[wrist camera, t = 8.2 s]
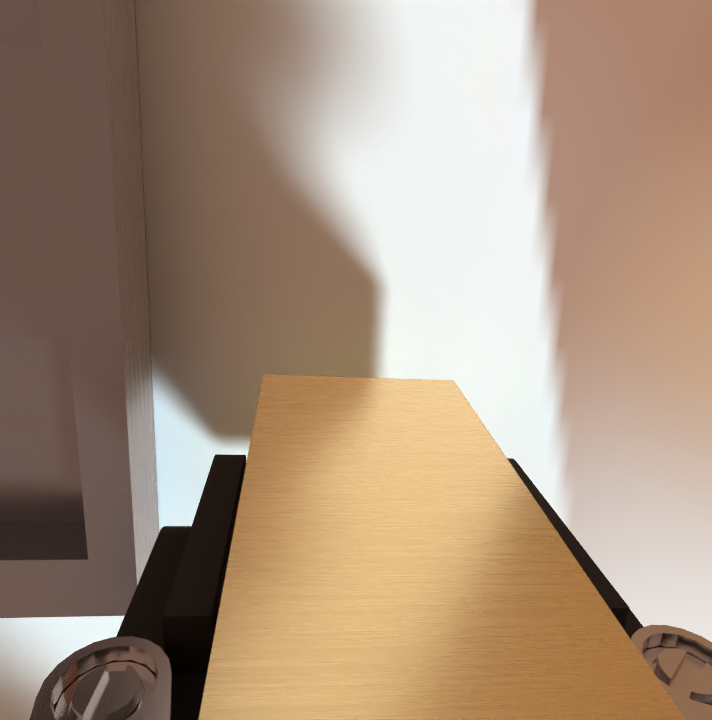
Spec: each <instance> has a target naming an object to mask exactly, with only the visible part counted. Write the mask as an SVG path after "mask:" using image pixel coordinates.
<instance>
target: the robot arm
mask: <svg viewBox="0 0 712 720" xmlns="http://www.w3.org/2000/svg"><path fill="white" fill-rule="evenodd" d="M507 459H508V458H507ZM508 461H509V462H510V464H511V465H512V467H513V468H514V469H515V471H516V472H517V474H518V475H519V477H520V478H521V480H522V481H523V483H524V484H525V486H526V487H527V489H528V490H529V491H530V493H531V494H532V496H533V497H534V499H535V500H536V502H537V503H538V505H539V506H540V508H541V509H542V510H543V512H544V513H545V515H546V516H547V518H548V519H549V521H550V522H551V524H552V525H553V527H554V528H555V529H556V531H557V532H558V534H559V535H560V537H561V538H562V540H563V541H564V543H565V544H566V546H567V547H568V548H569V550H570V551H571V553H572V554H573V556H574V557H575V559H576V560H577V562H578V563H579V565H580V566H581V567H582V569H583V570H584V572H585V573H586V575H587V576H588V578H589V579H590V581H591V582H592V584H593V585H594V586H595V588H596V589H597V591H598V592H599V594H600V595H601V597H602V598H603V600H604V601H605V603H606V604H607V606H608V607H609V608H610V610H611V611H612V613H613V614H614V616H615V617H616V619H617V620H618V622H619V623H620V625H621V626H622V627H623V629H624V630H625V632H626V633H627V635H628V636H629V638H630V639H631V641H632V642H633V644H634V645H635V646H636V648H637V649H638V651H639V652H640V654H641V655H642V657H643V658H644V660H645V661H646V663H647V664H648V665H649V667H650V668H651V670H652V671H653V673H654V674H655V676H656V677H657V679H658V680H659V682H660V683H661V684H662V686H663V687H664V689H665V690H666V692H667V693H668V695H669V696H670V698H671V699H672V701H673V702H674V703H675V705H676V706H677V708H678V709H679V711H680V712H681V714H682V715H683V717H684V718H685V720H712V642H710V641H708V640H707V639H705V638H703V637H702V636H699V635H697V634H694V633H692V632H689V631H687V630H684V629H681V628H676V627H672V626H667V625H649V626H646V627H643V626H642V624H640V622H639V621H638V619H637V618H636V617H635V615H634V614H633V613H632V612H631V610H630V609H629V607H628V605H627V604H626V603H625V602H624V600H623V599H622V598H621V596H620V595H619V594H618V592H617V591H616V590H615V589H614V587H613V586H612V585H611V583H610V582H609V581H608V580H607V578H606V577H605V576H604V574H603V573H602V572H601V571H600V569H599V568H598V567H597V565H596V564H595V563H594V562H593V560H592V559H591V558H590V557H589V555H588V554H587V552H586V551H585V550H584V549H583V547H582V546H581V545H580V543H579V542H578V541H577V540H576V538H575V537H574V536H573V534H572V533H571V532H570V530H569V529H568V528H567V527H566V525H565V524H564V523H563V521H562V520H561V519H560V518H559V516H558V515H557V514H556V512H555V511H554V510H553V508H552V507H551V506H550V505H549V503H548V502H547V501H546V499H545V498H544V497H543V496H542V494H541V493H540V492H539V490H538V489H537V488H536V487H535V485H534V484H533V483H532V481H531V480H530V479H529V477H528V476H527V475H526V474H525V472H524V471H523V470H522V468H521V467H520V466H519V465H518V463H517V462H516V461H515V460H514V459H508ZM245 468H246V455H215V456H214V459H213V462H212V465H211V468H210V472H209V475H208V478H207V481H206V484H205V487H204V490H203V493H202V496H201V499H200V502H199V506H198V509H197V512H196V515H195V518H194V521H193V524H192V526H164V527H163V528H162V529H161V530H160V532H159V534H158V537H157V539H156V542H155V544H154V546H153V549H152V551H151V554H150V556H149V559H148V561H147V563H146V566H145V568H144V571H143V573H142V576H141V578H140V580H139V583H138V585H137V588H136V590H135V593H134V595H133V597H132V600H131V602H130V605H129V607H128V610H127V612H126V615H125V617H124V619H123V622H122V624H121V627H120V629H119V632H118V634H117V636H116V637H113V638H109V639H105V640H101V641H98V642H94V643H92V644H90V645H88V646H86V647H84V648H82V649H80V650H78V651H75V652H74V653H73V654H71V655H70V656H69V657H67V658H66V659H65V660H63V661H62V662H61V663H59V664H58V665H57V666H56V667H55V669H54V670H53V671H52V672H51V673H50V674H49V676H48V677H47V678H46V679H45V680H44V682H43V684H42V686H41V688H40V691H39V693H38V695H37V697H36V700H35V703H34V707H33V710H32V714H31V717H30V720H198V719H199V714H200V709H201V703H202V698H203V693H204V687H205V682H206V677H207V671H208V666H209V661H210V655H211V650H212V645H213V639H214V634H215V628H216V623H217V618H218V612H219V607H220V602H221V596H222V591H223V586H224V580H225V575H226V570H227V564H228V559H229V554H230V548H231V543H232V537H233V532H234V527H235V521H236V516H237V511H238V505H239V500H240V495H241V489H242V484H243V479H244V473H245Z"/></svg>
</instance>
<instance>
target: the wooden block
mask: <svg viewBox="0 0 712 720" xmlns="http://www.w3.org/2000/svg"><path fill="white" fill-rule="evenodd" d="M198 720H685V718H684V717H683V715H682V714H681V712H680V711H679V709H678V708H677V706H676V705H675V703H674V702H673V701H672V699H671V698H670V696H669V695H668V693H667V692H666V690H665V689H664V687H663V686H662V684H661V683H660V682H659V680H658V679H657V677H656V676H655V674H654V673H653V671H652V670H651V668H650V667H649V665H648V664H647V663H646V661H645V660H644V658H643V657H642V655H641V654H640V652H639V651H638V649H637V648H636V646H635V645H634V644H633V642H632V641H631V639H630V638H629V636H628V635H627V633H626V632H625V630H624V629H623V627H622V626H621V625H620V623H619V622H618V620H617V619H616V617H615V616H614V614H613V613H612V611H611V610H610V608H609V607H608V606H607V604H606V603H605V601H604V600H603V598H602V597H601V595H600V594H599V592H598V591H597V589H596V588H595V586H594V585H593V584H592V582H591V581H590V579H589V578H588V576H587V575H586V573H585V572H584V570H583V569H582V567H581V566H580V565H579V563H578V562H577V560H576V559H575V557H574V556H573V554H572V553H571V551H570V550H569V548H568V547H567V546H566V544H565V543H564V541H563V540H562V538H561V537H560V535H559V534H558V532H557V531H556V529H555V528H554V527H553V525H552V524H551V522H550V521H549V519H548V518H547V516H546V515H545V513H544V512H543V510H542V509H541V508H540V506H539V505H538V503H537V502H536V500H535V499H534V497H533V496H532V494H531V493H530V491H529V490H528V489H527V487H526V486H525V484H524V483H523V481H522V480H521V478H520V477H519V475H518V474H517V472H516V471H515V469H514V468H513V467H512V465H511V464H510V462H509V461H508V459H507V458H506V456H505V455H504V453H503V452H502V450H501V449H500V448H499V446H498V445H497V443H496V442H495V440H494V439H493V437H492V436H491V434H490V433H489V431H488V430H487V429H486V427H485V426H484V424H483V423H482V421H481V420H480V418H479V417H478V415H477V414H476V412H475V411H474V410H473V408H472V407H471V405H470V404H469V402H468V401H467V399H466V398H465V396H464V395H463V393H462V392H461V391H460V389H459V388H458V386H457V385H456V383H455V382H454V381H451V380H421V379H391V378H360V377H330V376H300V375H269V374H263V377H262V382H261V388H260V393H259V398H258V404H257V409H256V414H255V420H254V425H253V430H252V436H251V441H250V446H249V452H248V457H247V462H246V468H245V473H244V479H243V484H242V489H241V495H240V500H239V505H238V511H237V516H236V521H235V527H234V532H233V537H232V543H231V548H230V554H229V559H228V564H227V570H226V575H225V580H224V586H223V591H222V596H221V602H220V607H219V612H218V618H217V623H216V628H215V634H214V639H213V645H212V650H211V655H210V661H209V666H208V671H207V677H206V682H205V687H204V693H203V698H202V703H201V709H200V714H199V719H198Z"/></svg>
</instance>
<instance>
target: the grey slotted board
mask: <svg viewBox="0 0 712 720" xmlns="http://www.w3.org/2000/svg"><path fill="white" fill-rule="evenodd" d="M158 534H159V519H158V497H157V475H156V454H155V432H154V410H153V388H152V367H151V345H150V323H149V302H148V280H147V258H146V237H145V215H144V193H143V171H142V150H141V128H140V106H139V85H138V63H137V41H136V19H135V0H0V618H21V617H73V616H124V615H126V612H127V610H128V607H129V605H130V602H131V600H132V597H133V595H134V593H135V590H136V588H137V585H138V583H139V580H140V578H141V576H142V573H143V571H144V568H145V566H146V563H147V561H148V559H149V556H150V554H151V551H152V549H153V546H154V544H155V542H156V539H157V537H158Z"/></svg>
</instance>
